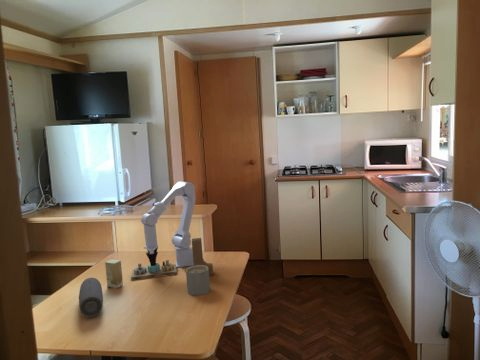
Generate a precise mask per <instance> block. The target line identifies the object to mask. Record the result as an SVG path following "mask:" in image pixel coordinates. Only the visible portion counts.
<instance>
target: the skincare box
mask: <svg viewBox="0 0 480 360" xmlns="http://www.w3.org/2000/svg"><path fill="white" fill-rule="evenodd" d="M104 265H105V266H104V267H105V274H106V275H105V276H106V285H107V287H108V288H114V289H118V288H120V287H122V286H123V285H124V281H123V273H122V272H123V271H122V260H118V259H112V258H111V259H108V260H107V261H105V262H104Z"/></svg>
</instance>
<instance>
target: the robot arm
mask: <svg viewBox="0 0 480 360" xmlns="http://www.w3.org/2000/svg"><path fill="white" fill-rule="evenodd" d="M195 191H196V186H195V184H194V183H192V182H189V181H180V180H179V181H177V182H176V183H175V184H174V185H173V186H172V189H170V191H169V192H168V193H167V194H166V195H165V196H164V198H163V199H162V200H161V201H157V202H155V203H154V204H153V205H154V206H152V207H151V208H150V210H148V211H147V213H144V214H143V215H142V217H141V219H140V222H141V223H142V224H143V231H144V239H145V241H144V242H145V246H143V249H145V250H146V251H147V252H146V253H145V255H146V256H147V259H148V261H149V264H151V266H156V263H157V256H158V253H159V252H158V249H159V244H158V237H157V236H158V235H157V227H156V224H158V219H159V218H160V217H161V216H162V215H163V214H164V213H165V212H166V210H167V206H168V205H169V204H171V202H172V201H173V200H175V199H176V198H177V197H179V196H181V197H182V198H183V199H184V201H183V202H184V203H183V207H182V211H181V216H180V217H181V218H180V221H179V227H178V229H177V230H175V233H174V235H173V237H172V238H171V242H172V245H173V246H174V250H175V264H176V268H182V267H191V266H194V262H193V251H192V246H191V245H192V239H191V236H192V234H191V233H190V227H191V224H192V223H191V222H192V218H193V213H194V208H195V203H196V199H197V196H196V192H195Z"/></svg>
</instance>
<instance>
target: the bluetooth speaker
mask: <svg viewBox="0 0 480 360" xmlns="http://www.w3.org/2000/svg"><path fill="white" fill-rule="evenodd" d="M103 305H104V295H103V288H102V284H101V282H100V281H99V279H97V278H95V277H88V278H86V279H84V280H82V283H81V284H80V287H79V293H78V307H79V311H80V313H81V314H82V316H84V317H87V318H92V317H95V316H98V315H99V314H100V313H101V311H102V309H103Z"/></svg>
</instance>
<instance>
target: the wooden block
mask: <svg viewBox="0 0 480 360" xmlns="http://www.w3.org/2000/svg"><path fill="white" fill-rule="evenodd" d="M202 243H203V242H202V237H195V238H194V237H193V238H192V239H191V247H192V251H193V262H194V265H193V266H195V265H205V266H207V267H208V269H209V276H213V275H214V265H213V263H212V262H211V263H208V262H206V261H205V260H204V256H203V255H204V253H203V244H202Z"/></svg>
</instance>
